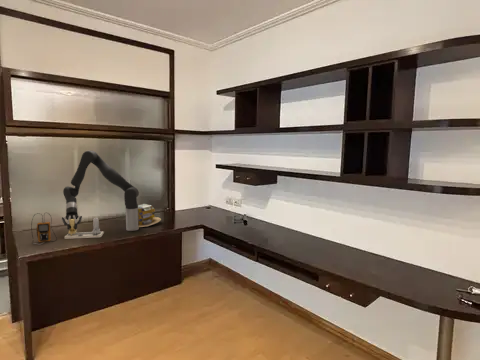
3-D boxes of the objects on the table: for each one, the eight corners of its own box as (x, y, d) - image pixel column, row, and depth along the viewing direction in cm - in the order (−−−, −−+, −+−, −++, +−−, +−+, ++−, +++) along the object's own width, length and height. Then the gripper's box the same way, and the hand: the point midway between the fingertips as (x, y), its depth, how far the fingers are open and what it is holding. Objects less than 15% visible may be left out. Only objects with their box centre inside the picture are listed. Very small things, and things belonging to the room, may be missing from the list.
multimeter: (29, 246, 214) (27, 216, 211) (32, 241, 223) (31, 213, 221) (55, 243, 219) (53, 214, 217) (57, 239, 228) (55, 211, 226)
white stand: (103, 233, 245) (102, 216, 243) (100, 237, 235) (100, 219, 234) (68, 234, 240) (68, 217, 238) (64, 238, 230) (63, 221, 229)
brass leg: (76, 233, 238) (76, 218, 237) (74, 235, 232) (73, 220, 231) (70, 233, 237) (69, 218, 236) (67, 235, 231) (67, 220, 230)
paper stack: (132, 229, 258) (131, 208, 256) (128, 222, 280) (128, 203, 278) (163, 226, 268) (163, 206, 266) (157, 219, 291) (157, 201, 289)
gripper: (60, 207, 237) (60, 227, 227) (82, 205, 243) (83, 225, 234) (61, 212, 242) (61, 233, 233) (82, 211, 249) (83, 230, 239)
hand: (72, 229), depth 233 cm, fingers closed on brass leg, 3 cm apart
